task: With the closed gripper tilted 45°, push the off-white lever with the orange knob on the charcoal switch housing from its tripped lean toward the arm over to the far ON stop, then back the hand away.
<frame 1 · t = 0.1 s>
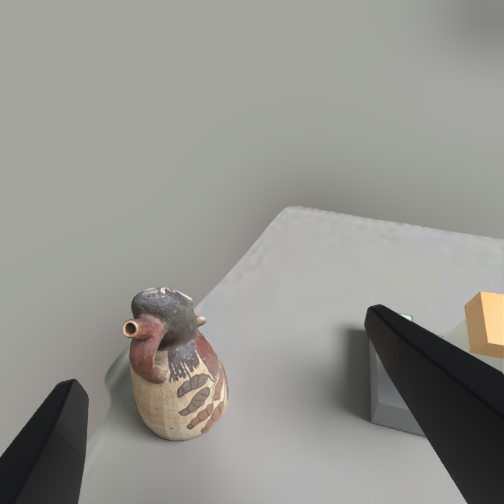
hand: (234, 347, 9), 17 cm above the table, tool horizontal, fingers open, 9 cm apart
switch housing: (447, 386, 24), on the table
figurine: (187, 398, 25), on the table
switch lever: (487, 351, 19), point 7 cm above the table, hinge at -22.0°
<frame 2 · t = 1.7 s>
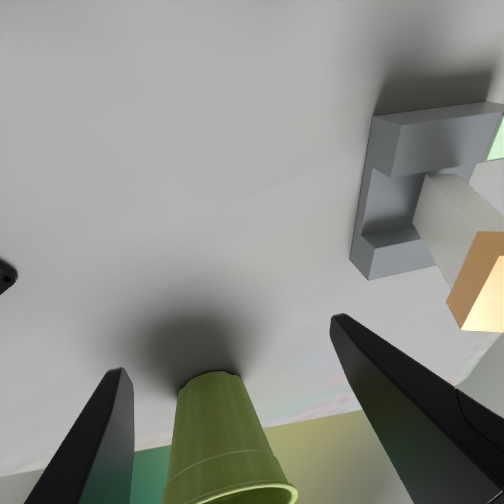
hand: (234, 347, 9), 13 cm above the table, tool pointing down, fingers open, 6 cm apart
switch housing: (410, 189, 24), on the table
plant pot: (210, 388, 33), on the table
switch lever: (462, 237, 18), point 7 cm above the table, hinge at -22.0°
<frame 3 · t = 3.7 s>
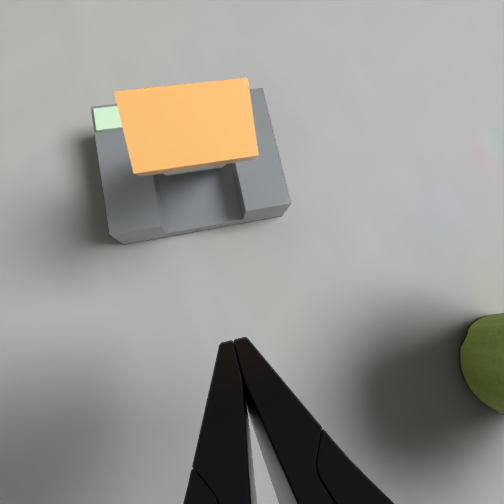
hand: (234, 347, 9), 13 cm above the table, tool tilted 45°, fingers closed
switch housing: (195, 174, 23), on the table
plant pot: (498, 360, 24), on the table
switch lever: (191, 146, 16), point 7 cm above the table, hinge at -22.0°
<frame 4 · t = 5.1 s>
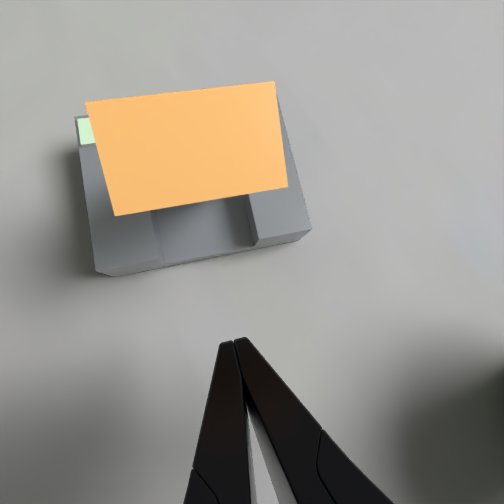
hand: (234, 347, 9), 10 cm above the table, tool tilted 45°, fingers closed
switch housing: (197, 193, 20), on the table
switch lever: (194, 166, 13), point 7 cm above the table, hinge at -22.0°
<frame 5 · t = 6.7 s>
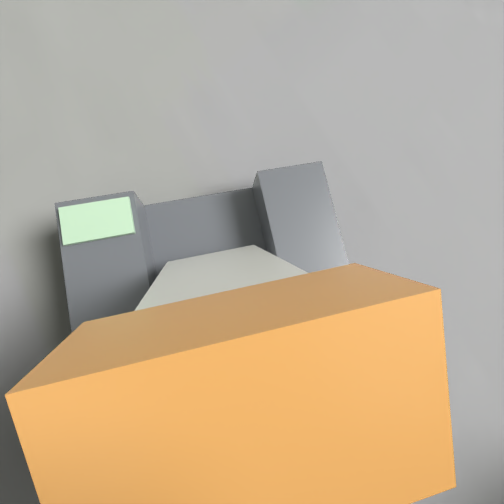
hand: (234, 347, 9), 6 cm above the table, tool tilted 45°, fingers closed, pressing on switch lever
switch housing: (216, 283, 16), on the table
switch lever: (226, 308, 9), point 7 cm above the table, hinge at -16.7°, touching gripper
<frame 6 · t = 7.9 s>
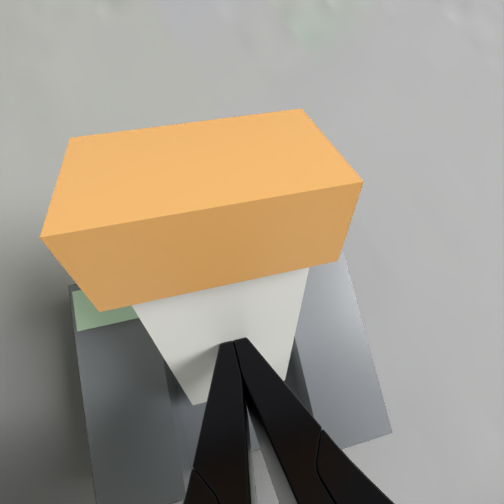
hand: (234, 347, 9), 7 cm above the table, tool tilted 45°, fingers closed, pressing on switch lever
switch housing: (230, 350, 15), on the table
switch lever: (225, 308, 9), point 7 cm above the table, hinge at 31.9°, touching gripper
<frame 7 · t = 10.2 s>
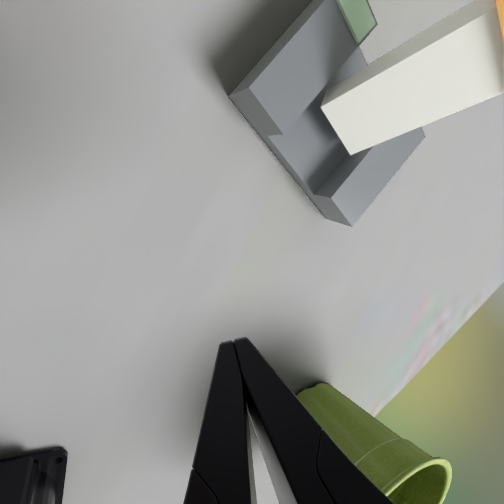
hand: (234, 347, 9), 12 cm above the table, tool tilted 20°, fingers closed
switch housing: (323, 120, 22), on the table
plant pot: (307, 409, 31), on the table
switch lever: (426, 79, 16), point 7 cm above the table, hinge at 31.9°
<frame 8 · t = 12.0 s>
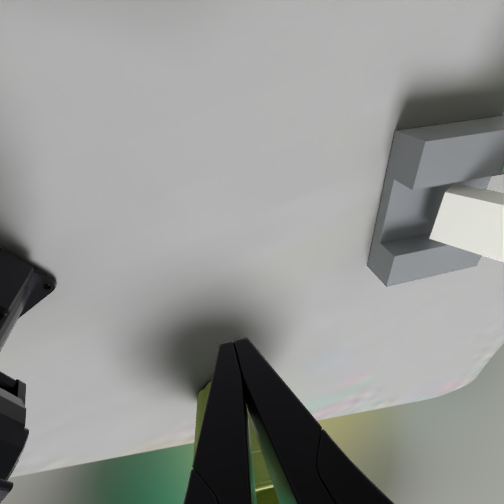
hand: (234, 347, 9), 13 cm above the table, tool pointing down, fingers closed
switch housing: (427, 199, 25), on the table
plant pot: (228, 389, 34), on the table
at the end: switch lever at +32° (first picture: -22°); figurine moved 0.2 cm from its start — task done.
